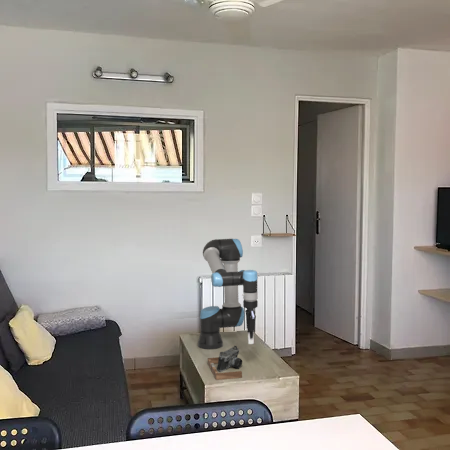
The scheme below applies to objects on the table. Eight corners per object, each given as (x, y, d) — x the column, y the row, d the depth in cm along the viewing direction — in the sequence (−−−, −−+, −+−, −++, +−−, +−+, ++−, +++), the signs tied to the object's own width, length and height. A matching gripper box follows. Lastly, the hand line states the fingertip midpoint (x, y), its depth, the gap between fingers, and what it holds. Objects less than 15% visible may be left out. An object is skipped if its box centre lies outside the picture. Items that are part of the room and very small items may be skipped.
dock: (207, 363, 284) (207, 356, 284) (231, 361, 287) (231, 354, 287) (216, 380, 259) (216, 372, 259) (242, 377, 262) (241, 370, 262)
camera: (229, 377, 267) (233, 359, 265) (214, 370, 272) (218, 352, 270) (245, 366, 283) (249, 349, 281) (231, 360, 287) (234, 343, 285)
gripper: (240, 297, 279) (241, 340, 281) (246, 303, 266) (246, 347, 269) (254, 296, 281) (254, 339, 283) (260, 302, 268) (260, 346, 270)
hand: (250, 343), depth 276 cm, fingers closed
